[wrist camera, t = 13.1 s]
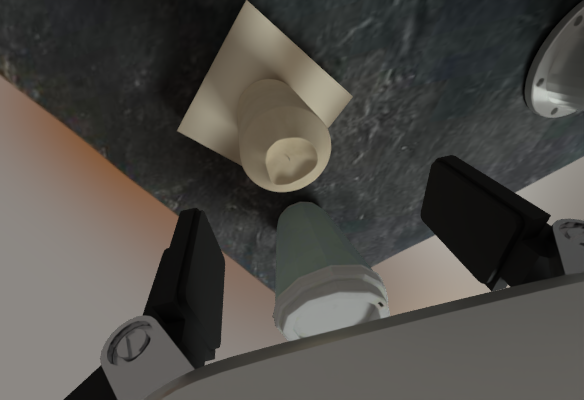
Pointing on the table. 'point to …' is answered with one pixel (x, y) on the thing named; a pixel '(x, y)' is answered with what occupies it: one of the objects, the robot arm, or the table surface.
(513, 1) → the table surface
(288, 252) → the disposable coffee cup
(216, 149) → the plinth
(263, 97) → the candle
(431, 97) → the table surface
